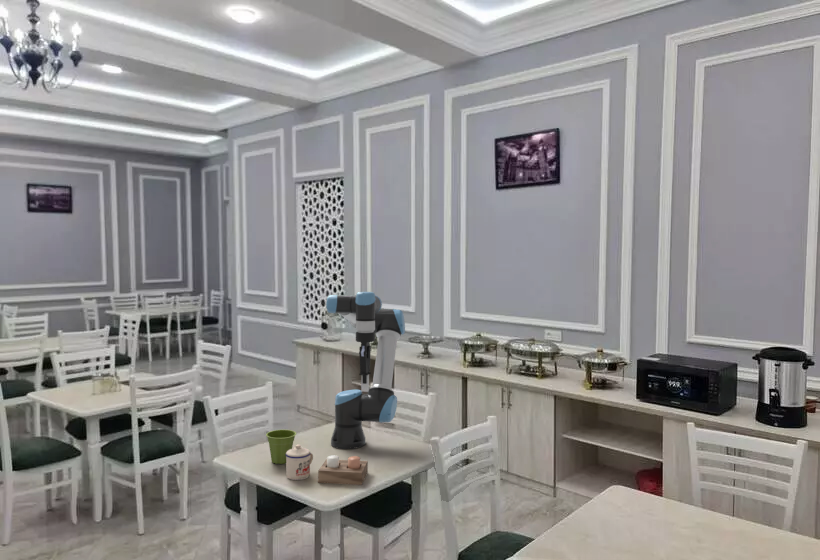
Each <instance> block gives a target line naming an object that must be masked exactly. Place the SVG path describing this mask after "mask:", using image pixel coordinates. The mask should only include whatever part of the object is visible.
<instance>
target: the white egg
mask: <svg viewBox="0 0 820 560" xmlns="http://www.w3.org/2000/svg"><path fill="white" fill-rule="evenodd" d="M326 459H327V467H328V468H338V467H339V460H340V456H339V455H336V454H335V455H334V454H333V455H332V454H331V455H328V456H327V457H326Z"/></svg>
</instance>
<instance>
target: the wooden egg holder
mask: <svg viewBox="0 0 820 560" xmlns="http://www.w3.org/2000/svg"><path fill="white" fill-rule="evenodd" d="M368 467H369V463H368V460H360V469H350V468H348V459H339V467H338V468H328V467H327V458H326V459H325V461H324V462H323V463H322V464H321V466H320V468H318V472H317V475H318V476H317V484H333V485H335V484H336V485H337V484H338V485H353V486H354V485H355V486H362V485H363V484H364V481H365V479H366V477H367V475H368V471H369V470H368V469H369V468H368Z"/></svg>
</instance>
